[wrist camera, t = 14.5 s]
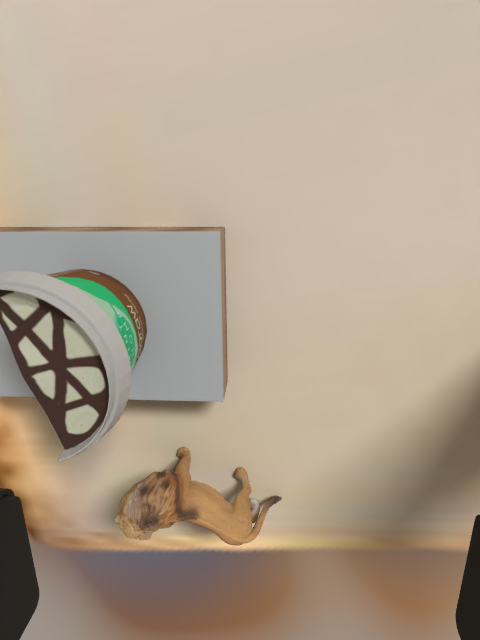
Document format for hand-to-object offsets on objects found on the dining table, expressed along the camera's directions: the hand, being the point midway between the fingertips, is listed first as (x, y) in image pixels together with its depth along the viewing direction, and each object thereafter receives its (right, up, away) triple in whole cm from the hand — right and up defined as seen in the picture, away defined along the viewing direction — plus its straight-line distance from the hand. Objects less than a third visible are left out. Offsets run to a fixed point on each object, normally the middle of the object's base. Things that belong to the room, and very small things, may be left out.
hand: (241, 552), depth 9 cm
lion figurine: (-3, -11, +34) cm, 36 cm away
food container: (-10, +5, +25) cm, 27 cm away
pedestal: (-11, +6, +29) cm, 31 cm away
